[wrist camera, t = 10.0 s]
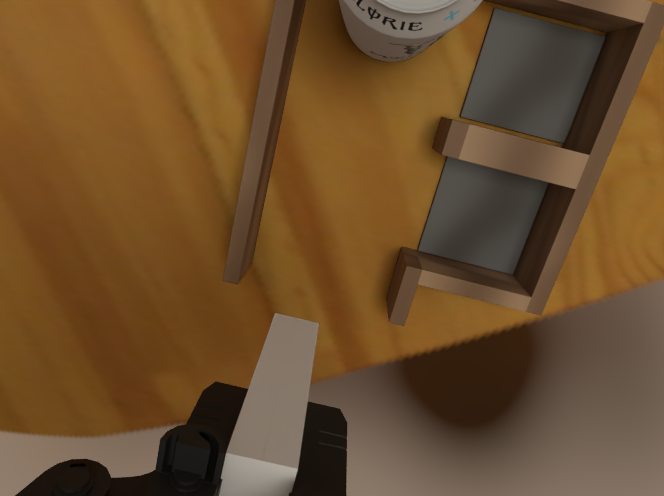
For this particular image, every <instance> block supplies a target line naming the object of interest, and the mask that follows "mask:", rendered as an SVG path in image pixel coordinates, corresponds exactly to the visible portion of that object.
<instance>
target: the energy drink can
mask: <svg viewBox="0 0 664 496" xmlns="http://www.w3.org/2000/svg"><path fill="white" fill-rule="evenodd" d="M482 1H483V0H339V4H340V8H341V12H342V15H343V19H344V23H345V26H346V29H347V32H348V34H349V36H350V38H351V39H352V41H353V42H354V43H355V45H356V46H357V47H358V48H359V49H360V50H361V51H363V52H364V53H365V54H366V55H368V56H370V57H372V58H374V59H377V60H380V61H385V62H398V61H404V60H407V59H410V58H412V57H414V56H416V55H418V54H419V53H421V52H422V51H424V50H425V49H426V48H428V47H429V46H430V45H432V44H433V43H434V42H436V41H437V40H438V39H440V38H441V37H442V36H444V35H445V34H446V33H448V32H449V31H450V30H452V29H453V28H455V27H456V26H457V25H459V24H460V23H461V22H462V21H463V20H465V19H466V18H467V17H468V16H469V15H470V14H471V13H472V12H474V11H475V10H476V8H477V7H478V6H479V4H480V3H481V2H482Z"/></svg>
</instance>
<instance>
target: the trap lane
mask: <svg viewBox="0 0 664 496" xmlns="http://www.w3.org/2000/svg"><path fill="white" fill-rule="evenodd" d="M485 1H489V2H492V3H496V4H500V5H504V6H508V7H512V8H515V9H519V10H523V11H527V12H531V13H534V14H538V15H542V16H546V17H550V18H553V19H557V20H561V21H565V22H569V23H573V24H576V25H580V26H584V27H588V28H592V29H595V30H599V31H603V32H607V34H606V36H605V37H604V36H601V35H597V34H593V33H589V32H585V31H582V30H578V29H574V28H570V27H566V26H562V25H559V24H555V23H551V22H547V21H543V20H540V19H536V18H532V17H528V16H524V15H520V14H517V13H513V12H509V11H505V10H501V9H498V8H494V10H493V13H492V16H491V20H490V23H489V26H488V29H487V32H486V35H485V38H484V42H483V45H482V48H481V51H480V54H479V57H478V60H477V64H476V67H475V70H474V73H473V76H472V79H471V83H470V86H469V89H468V92H467V95H466V98H465V101H464V105H463V108H462V111H461V114H460V117H464V118H468V119H472V120H476V121H479V122H483V123H487V124H491V125H495V126H499V127H503V128H507V129H510V130H514V131H518V132H522V133H526V134H530V135H534V136H537V137H541V138H545V139H549V140H553V141H557V142H561V143H564V144H563V147H562V148H560V147H556V146H553V145H549V144H545V143H541V142H537V141H533V140H529V139H526V138H522V137H518V136H514V135H510V134H506V133H502V132H498V131H495V130H491V129H487V128H483V127H479V126H475V125H471V124H467V123H464V122H460V121H456V120H452V119H448V118H444V117H441V121H440V124H439V127H438V130H437V134H436V137H435V140H434V143H433V147H432V148H433V149H435V150H436V151H437V152H439V153H440V154H441V155H444V156H447V158H446V161H445V164H444V168H443V171H442V174H441V177H440V180H439V183H438V186H437V190H436V193H435V196H434V199H433V202H432V205H431V208H430V212H429V215H428V218H427V221H426V224H425V227H424V231H423V234H422V237H421V240H420V243H419V246H418V251H417V250H413V249H409V248H405V247H402V248H401V251H400V254H399V258H398V261H397V264H396V268H395V271H394V274H393V277H392V281H391V284H390V287H389V290H388V294H387V297H386V300H387V309H388V318H389V323H393V324H397V325H401V326H404V325H405V322H406V319H407V316H408V313H409V310H410V307H411V303H412V300H413V297H414V294H415V291H416V288H417V285H422V286H426V287H430V288H434V289H438V290H442V291H446V292H450V293H454V294H458V295H462V296H466V297H470V298H474V299H477V300H481V301H485V302H489V303H493V304H497V305H501V306H505V307H509V308H513V309H517V310H521V311H525V312H529V313H533V314H537V315H542V312H543V310H544V307H545V305H546V303H547V300H548V298H549V296H550V293H551V291H552V288H553V286H554V284H555V281H556V279H557V277H558V274H559V272H560V269H561V267H562V265H563V262H564V260H565V258H566V255H567V253H568V251H569V248H570V246H571V243H572V241H573V239H574V236H575V234H576V232H577V229H578V227H579V224H580V222H581V220H582V217H583V215H584V213H585V210H586V208H587V206H588V203H589V201H590V198H591V196H592V194H593V191H594V189H595V187H596V184H597V182H598V179H599V177H600V175H601V172H602V170H603V168H604V165H605V163H606V160H607V158H608V156H609V153H610V151H611V149H612V146H613V144H614V142H615V139H616V137H617V134H618V132H619V130H620V127H621V125H622V123H623V120H624V118H625V115H626V113H627V111H628V108H629V106H630V104H631V101H632V99H633V96H634V94H635V92H636V89H637V87H638V85H639V82H640V80H641V78H642V75H643V73H644V70H645V68H646V66H647V63H648V61H649V59H650V56H651V54H652V51H653V49H654V47H655V44H656V42H657V40H658V37H659V35H660V33H661V30H662V28H663V25H664V5H661V4H657V3H654V2H650V1H646V0H485ZM305 2H306V0H275V5H274V10H273V15H272V21H271V26H270V31H269V37H268V42H267V47H266V53H265V58H264V63H263V69H262V74H261V79H260V85H259V90H258V95H257V101H256V106H255V111H254V117H253V122H252V127H251V133H250V138H249V143H248V149H247V154H246V159H245V165H244V170H243V175H242V181H241V186H240V191H239V197H238V202H237V207H236V213H235V218H234V223H233V229H232V234H231V239H230V245H229V250H228V255H227V261H226V266H225V271H224V277H223V281H226V282H230V283H234V284H239V282H240V281H241V279H242V278H243V276H244V275H245V273H246V272H247V270H248V269H249V267H250V266H251V264H252V260H253V255H254V250H255V245H256V240H257V236H258V231H259V226H260V221H261V216H262V211H263V206H264V201H265V197H266V192H267V187H268V182H269V177H270V172H271V167H272V163H273V158H274V153H275V148H276V143H277V138H278V133H279V128H280V124H281V119H282V114H283V109H284V104H285V99H286V94H287V89H288V85H289V80H290V75H291V70H292V65H293V60H294V55H295V50H296V46H297V41H298V36H299V31H300V26H301V21H302V16H303V12H304V7H305ZM421 251H422V252H421ZM425 252H426V253H425ZM429 253H430V254H429ZM433 254H434V255H433ZM437 255H438V256H437ZM441 256H442V257H441ZM445 257H446V258H445ZM449 258H450V259H449ZM453 259H454V260H453ZM464 262H465V263H464ZM468 263H469V264H468ZM472 264H473V265H472ZM476 265H477V266H476ZM480 266H481V267H480ZM484 267H485V268H484ZM488 268H489V269H488ZM492 269H493V270H492ZM496 270H497V271H496ZM500 271H501V272H500ZM504 272H505V273H504ZM508 273H509V274H508ZM512 274H513V275H512Z"/></svg>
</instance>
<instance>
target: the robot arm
mask: <svg viewBox="0 0 664 496" xmlns="http://www.w3.org/2000/svg"><path fill="white" fill-rule="evenodd" d="M318 327H319V323H316V322H312V321H307V320H303V319H299V318H295V317H290V316H286V315H282V314H278V313H275V315H274V318H273V320H272V323H271V326H270V329H269V332H268V335H267V338H266V340H265V343H264V346H263V349H262V352H261V355H260V357H259V360H258V363H257V366H256V369H255V372H254V375H253V377H252V380H251V383H250V386H249V389H246V388H241V387H237V386H233V385H228V384H224V383H220V382H215V383H213V384H212V385H210V386H209V387H208V388H206V389H205V390H204V391H203V392H202V394H201V396H200V398H199V400H198V402H197V404H196V406H195V408H194V410H193V412H192V414H191V417H190V418H189V420H188V422H187V424H186V425H181V426H177V427H175V428H173V429H171V430H169V431H167V432H166V433H165V435H164V436H163V437H162V438H161V439H160V445H159V452H158V458H157V464H156V470H154V471H153V472H151V473H148V474H144V475H141V476H135V477H124V478H123V477H122V478H111V476H110V474H109V472H108V470H107V468H106V467H104V466H103V465H102V464H100V463H98V462H96V461H92V460H88V459H72V460H68V461H65V462H62V463H59V464H57V465H55V466H53V467H51V468H50V469H48V470H47V471H45V472H44V473H43V474H41V475H40V476H39V477H37V478H36V479H35V480H34V481H33V482H31V483H30V484H29V485H28V486H26V487H25V488H24V489H23V490H22V491H20V492H19V493H18V494H17V495H15V496H346V465H347V451H346V449H347V439H346V438H347V421H346V420H345V418H344V416H343V414H342V412H341V410H340V409H338V408H334V407H329V406H325V405H321V404H316V403H312V402H308V396H309V389H310V382H311V375H312V368H313V361H314V354H315V347H316V340H317V334H318Z"/></svg>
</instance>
